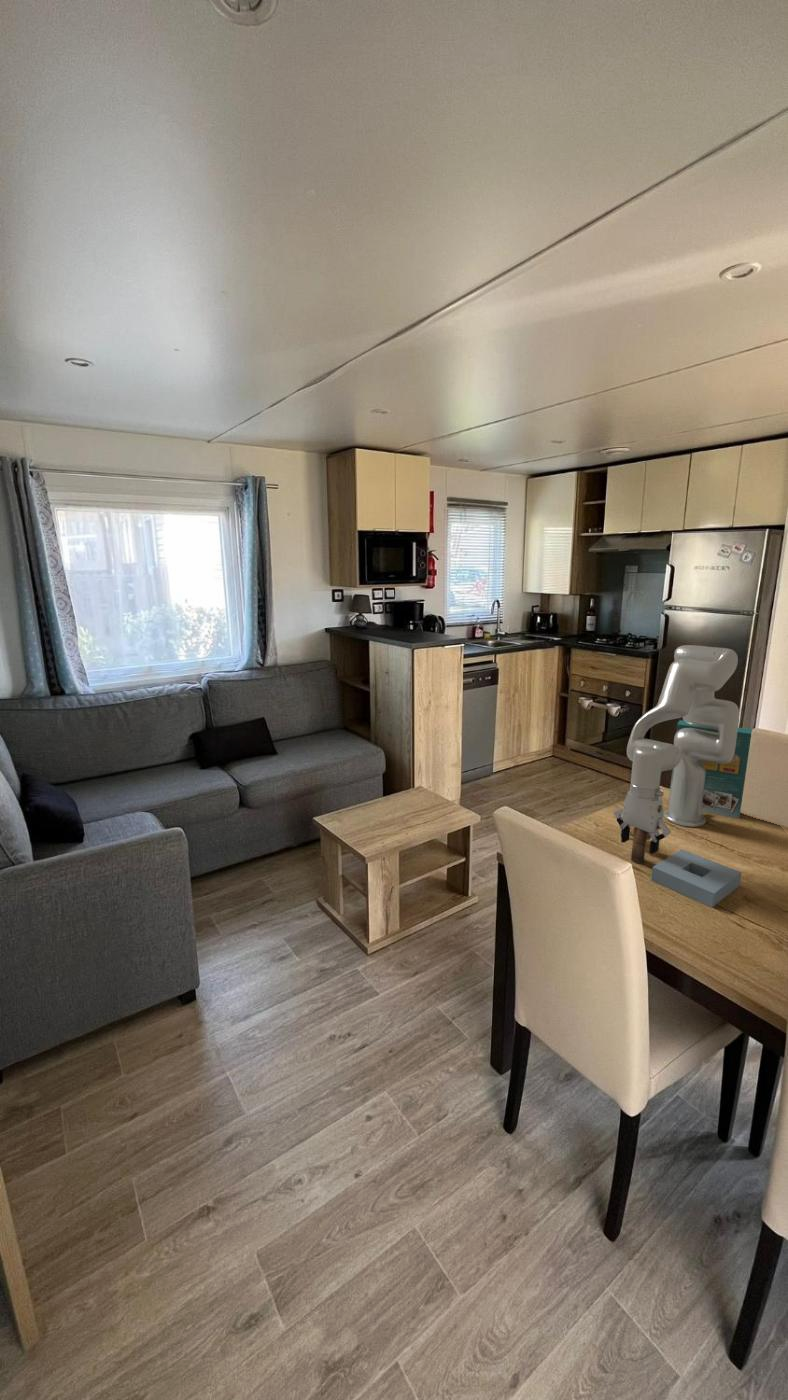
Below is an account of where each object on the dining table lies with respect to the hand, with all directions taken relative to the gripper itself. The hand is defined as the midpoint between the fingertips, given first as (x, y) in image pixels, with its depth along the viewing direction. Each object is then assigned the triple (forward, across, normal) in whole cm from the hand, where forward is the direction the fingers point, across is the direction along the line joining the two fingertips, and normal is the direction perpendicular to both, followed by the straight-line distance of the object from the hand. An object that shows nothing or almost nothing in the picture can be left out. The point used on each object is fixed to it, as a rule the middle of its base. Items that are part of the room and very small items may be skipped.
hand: (638, 846), depth 163 cm
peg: (+4, 0, 0) cm, 4 cm away
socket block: (+4, -16, -1) cm, 17 cm away
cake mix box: (+5, +5, -52) cm, 52 cm away
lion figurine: (+5, +6, -10) cm, 12 cm away
